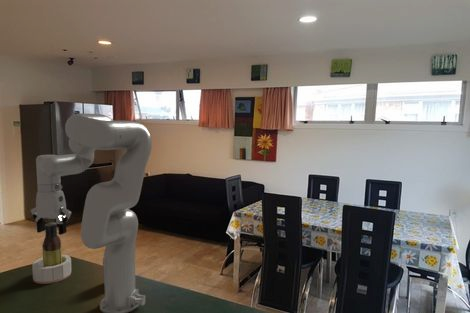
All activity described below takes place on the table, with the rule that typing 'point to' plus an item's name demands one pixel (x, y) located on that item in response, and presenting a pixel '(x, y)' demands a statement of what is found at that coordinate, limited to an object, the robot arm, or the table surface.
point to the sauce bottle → (51, 246)
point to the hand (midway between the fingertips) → (51, 232)
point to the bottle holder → (51, 271)
